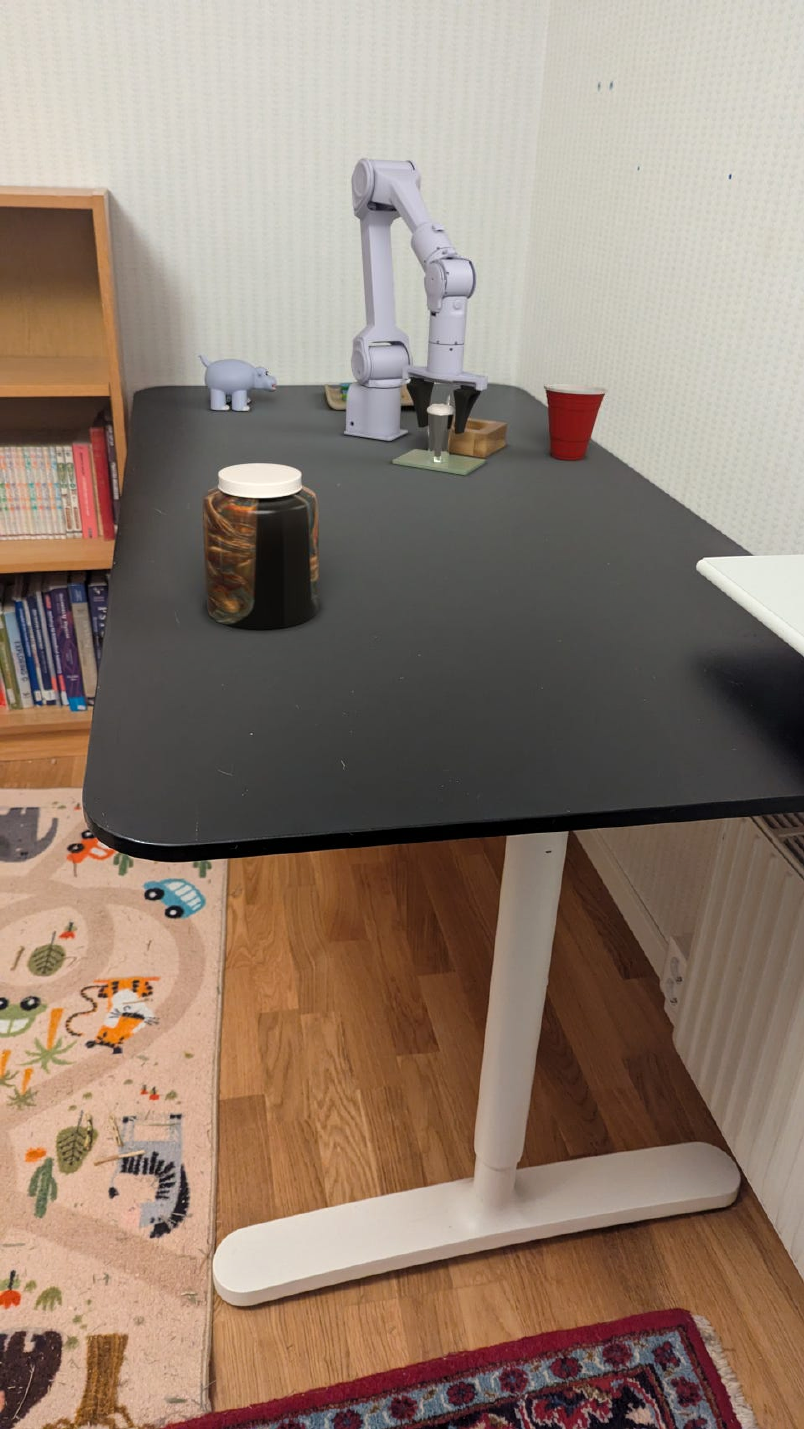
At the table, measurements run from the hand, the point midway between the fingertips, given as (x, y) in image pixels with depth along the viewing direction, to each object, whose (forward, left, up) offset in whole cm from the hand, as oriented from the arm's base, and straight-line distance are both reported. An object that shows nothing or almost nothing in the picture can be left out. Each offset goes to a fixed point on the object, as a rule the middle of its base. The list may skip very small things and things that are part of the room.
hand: (441, 429), depth 166 cm
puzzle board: (-31, +37, -6) cm, 49 cm away
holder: (0, +13, -6) cm, 14 cm away
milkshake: (0, 0, -5) cm, 5 cm away
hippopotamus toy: (-51, +18, -6) cm, 55 cm away
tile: (0, 0, -6) cm, 6 cm away
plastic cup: (+17, +17, -6) cm, 25 cm away
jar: (+8, -69, -6) cm, 69 cm away
